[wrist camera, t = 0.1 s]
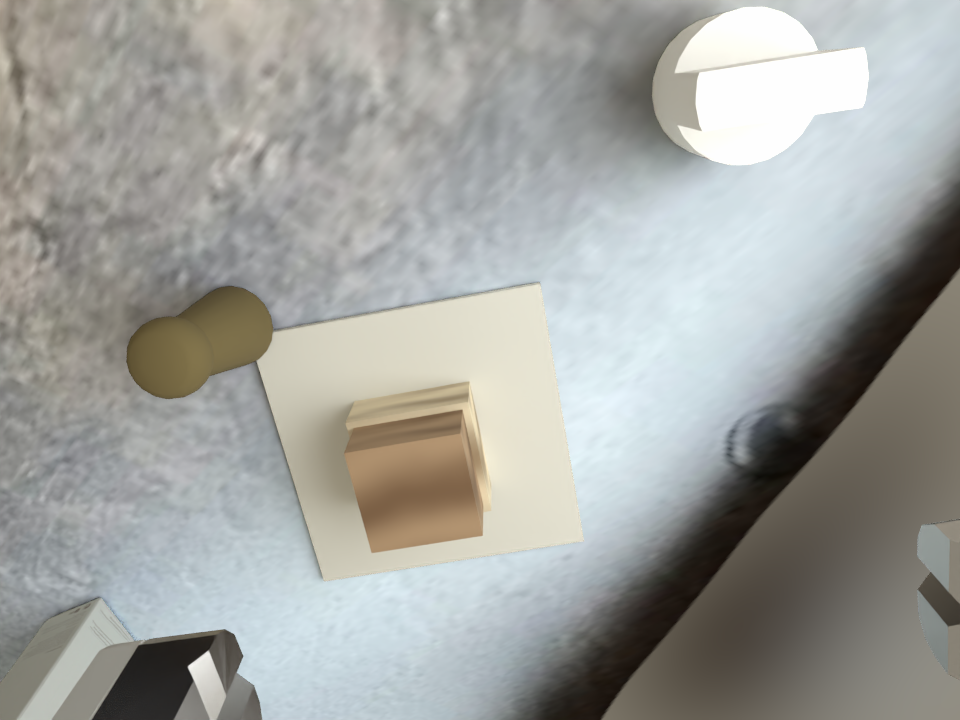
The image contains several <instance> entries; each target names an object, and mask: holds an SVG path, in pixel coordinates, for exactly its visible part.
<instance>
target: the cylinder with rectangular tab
mask: <svg viewBox="0 0 960 720" xmlns="http://www.w3.org/2000/svg"><path fill="white" fill-rule="evenodd" d="M868 79H869V74H868V65H867V56H866V52H865V49H864V47H859V48H847V49H835V50H823V51H818V50H817V47H816V45H815V43H814V40H813V38H812V37H811V36H810V34H809V33H808V32H807V31H806V29H805V28H804V27H803V26H802V25H801V23H799V22H798V21H796V20H795V19H793V18H792V17H790V16H789V15H787V14H786V13H784V12H781V11H777V10H774V9H770V8H767V7H743V8H740V9H736V10H732V11H729V12H725V13H722V14H718V15H715V16H711V17H708V18H705V19H701V20H698V21H697V22H695V23H693V24H692V25H690V26H688V27H687V28H685V29H684V30H682V31H681V32H680V33H679V34H678V35H677V36H676V37H675V38H674V39H673V40H672V41H671V42H670V43H669V44H668V46H667V48H666V49H665V51H664V53H663V54H662V56H661V58H660V59H659V61H658V65H657V68H656V71H655V74H654V78H653V88H652V100H653V105H654V111H655V115H656V117H657V119H658V121H659V123H660V125H661V127H662V129H663V131H664V132H665V133H666V134H667V135H668V136H669V138H670V139H671V140H672V141H673V142H674V143H675V144H677V145H679V146H680V147H682V148H684V149H685V150H687V151H689V152H691V153H694V154H696V155H699V156H702V157H704V158H707V159H710V160H712V161H716V162H720V163H724V164H728V165H750V164H754V163H757V162H761V161H764V160H768V159H770V158H771V157H773V156H775V155H777V154H778V153H780V152H782V151H784V150H785V149H787V148H788V147H789V146H790V145H791V144H792V143H793V142H794V141H795V140H796V139H797V138H798V137H799V136H801V134H802V133H803V131H804V130H805V128H806V127H807V125H808V124H809V122H810V121H811V119H812V118H813V116H814V115H816V114H823V113H829V112H836V111H843V110H849V109H856V108H863V105H864V103H865V100H866V93H867V86H868Z"/></svg>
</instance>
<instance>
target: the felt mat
mask: <svg viewBox="0 0 960 720" xmlns="http://www.w3.org/2000/svg"><path fill="white" fill-rule="evenodd" d="M256 361H257V364H258V367H259V371H260V374H261V377H262V380H263V384H264V387H265V390H266V393H267V397H268V400H269V403H270V406H271V410H272V413H273V416H274V420H275V423H276V426H277V429H278V433H279V436H280V439H281V442H282V446H283V449H284V452H285V455H286V459H287V462H288V465H289V468H290V472H291V475H292V478H293V481H294V485H295V488H296V491H297V494H298V498H299V501H300V504H301V507H302V511H303V514H304V517H305V521H306V524H307V527H308V530H309V534H310V537H311V540H312V543H313V547H314V550H315V553H316V556H317V560H318V563H319V566H320V569H321V573H322V576H323V579H324V581H330V580H337V579H343V578H350V577H356V576H363V575H369V574H376V573H382V572H388V571H395V570H401V569H408V568H414V567H421V566H427V565H434V564H440V563H446V562H453V561H459V560H466V559H472V558H479V557H485V556H492V555H498V554H504V553H511V552H517V551H524V550H530V549H537V548H543V547H550V546H556V545H562V544H569V543H575V542H582V541H584V538H583V532H582V526H581V520H580V515H579V509H578V503H577V497H576V491H575V485H574V479H573V473H572V467H571V462H570V456H569V450H568V444H567V438H566V432H565V426H564V420H563V414H562V409H561V403H560V397H559V391H558V385H557V379H556V373H555V367H554V361H553V356H552V350H551V344H550V338H549V332H548V326H547V320H546V314H545V308H544V303H543V297H542V291H541V285H540V282H537V283H531V284H526V285H520V286H515V287H509V288H504V289H498V290H493V291H487V292H482V293H476V294H471V295H465V296H460V297H454V298H449V299H443V300H438V301H432V302H427V303H421V304H416V305H410V306H405V307H399V308H394V309H388V310H383V311H377V312H372V313H366V314H361V315H355V316H350V317H344V318H339V319H333V320H328V321H322V322H317V323H311V324H306V325H300V326H295V327H289V328H284V329H279V330H273V334H272V341H271V343H270V346H269V348H268V350H267V351H266V353H265V354H264V355H263V356H262V357H261V358H260V359H258V360H256ZM469 381H470V386H471V390H472V395H473V400H474V405H475V409H476V414H477V419H478V424H479V428H480V433H481V438H482V443H483V447H484V452H485V457H486V462H487V466H488V471H489V476H490V481H491V511H487V512H483V536H478V537H472V538H466V539H459V540H453V541H447V542H440V543H434V544H428V545H421V546H415V547H408V548H402V549H396V550H389V551H383V552H377V553H372V552H371V549H370V545H369V542H368V538H367V535H366V531H365V527H364V524H363V520H362V517H361V513H360V509H359V506H358V502H357V499H356V495H355V491H354V488H353V484H352V481H351V477H350V473H349V470H348V466H347V463H346V459H345V455H344V452H345V449H346V446H347V444H348V441H349V439H350V438H349V434H348V431H347V427H346V420H347V418H348V416H349V413H350V411H351V409H352V406H353V404H354V401H359V400H365V399H370V398H376V397H382V396H388V395H394V394H399V393H405V392H411V391H417V390H422V389H428V388H434V387H440V386H445V385H451V384H457V383H463V382H469Z"/></svg>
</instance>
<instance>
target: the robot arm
mask: <svg viewBox="0 0 960 720" xmlns="http://www.w3.org/2000/svg"><path fill="white" fill-rule="evenodd" d="M918 558H919V559H920V560H921V561H922V562H923V563H924V564H925V566H926V567H927V568H928V569H929V570H930V571H931V572H930V574H929V575H928V576H927V578H926V579H925V580H924V581H923V583H922V584H921V585H920V587H919V588H918V610H919V617H920V620H921V624H922V628H923V631H924V635H925V638H926V640H927V642H928V644H929V646H930V648H931V650H932V652H933V654H934V656H935V657H936V659H937V660H938V662H939V663H940V664H941V665H942V667H943V668H944V670H945V671H946V672H947V674H949V675H950V676H953V677H955V678H956V679H958V680H960V519H956V520H949V521H944V522H937V523H931V524H925V525H922V527H921V530H920V533H919V535H918ZM242 658H243V654H242V652H241V650H240V647H239V645H238V642H237V640H236V637H235V635H234V634H233V633H231V632H229V631H227V630H225V629H224V630H216V631H208V632H200V633H192V634H185V635H177V636H169V637H161V638H153V639H149V640H139V641H133V642H126V643H119V644H113V645H110V646H107V647H105V648H103V649H101V650H99V652H98V653H97V655H96V656H95V658H94V659H93V660H92V662H91V663H90V665H89V666H88V668H87V669H86V670H85V672H84V673H83V675H82V676H81V678H80V679H79V681H78V682H77V683H76V685H75V686H74V688H73V689H72V691H71V692H70V693H69V695H68V696H67V698H66V699H65V701H64V702H63V704H62V705H61V706H60V708H59V709H58V711H57V712H56V714H55V715H54V716H53V718H52V719H51V720H262V715H261V708H260V702H259V699H258V696H257V693H256V690H255V687H254V685H252V684H251V683H250V682H248V681H247V680H246V679H244V678H243V677H242V676H240V675H239V674H238V673H236V672H237V670H238V668H239V665H240V663H241V660H242Z"/></svg>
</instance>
